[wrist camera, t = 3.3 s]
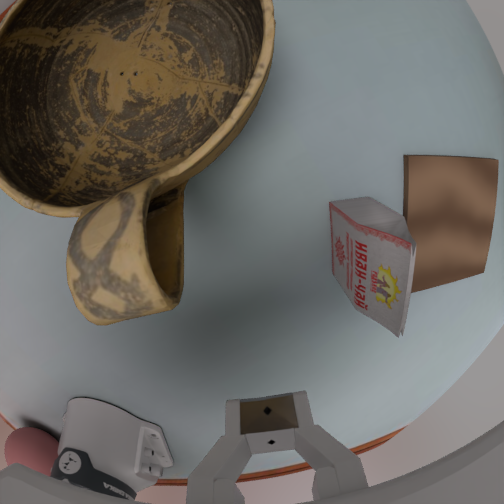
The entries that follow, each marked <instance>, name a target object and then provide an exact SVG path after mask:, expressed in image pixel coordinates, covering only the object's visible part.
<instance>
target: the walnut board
mask: <svg viewBox="0 0 504 504" xmlns="http://www.w3.org/2000/svg"><path fill="white" fill-rule="evenodd" d="M498 161H499V160H496V159H490V158H477V157H462V156H438V155H404V206H403V216H404V217H405V221H406V224H407V227H408V230H409V232H410V234H411V236H412V238H413V239H414V240H415V242H416V243H417V244H416V255H415V264H414V273H413V281H412V288H411V293H413V292H417V291H421V290H425V289H429V288H432V287H436V286H440V285H443V284H447V283H451V282H454V281H457V280H461V279H464V278H468V277H471V276H474V275H477V274H481V273H484V270H485V265H486V261H487V256H488V251H489V246H490V241H491V235H492V229H493V222H494V215H495V206H496V197H497V184H498Z"/></svg>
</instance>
